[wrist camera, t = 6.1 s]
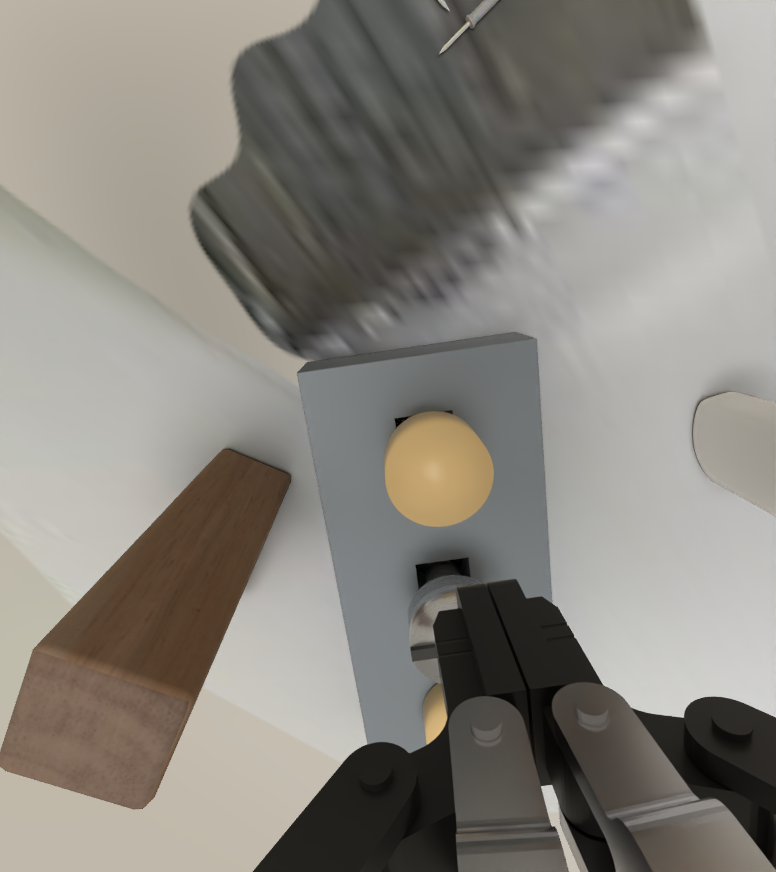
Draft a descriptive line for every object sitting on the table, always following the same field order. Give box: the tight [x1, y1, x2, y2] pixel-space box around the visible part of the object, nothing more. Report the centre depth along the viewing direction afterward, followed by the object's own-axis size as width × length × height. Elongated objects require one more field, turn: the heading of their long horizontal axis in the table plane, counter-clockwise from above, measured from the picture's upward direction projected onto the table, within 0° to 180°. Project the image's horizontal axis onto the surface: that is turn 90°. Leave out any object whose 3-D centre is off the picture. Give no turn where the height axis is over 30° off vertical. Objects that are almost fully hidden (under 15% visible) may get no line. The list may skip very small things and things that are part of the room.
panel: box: [297, 332, 552, 753], centre depth 31 cm, size 12×26×4 cm, turn 8°
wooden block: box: [0, 449, 291, 809], centre depth 23 cm, size 9×4×18 cm, turn 155°
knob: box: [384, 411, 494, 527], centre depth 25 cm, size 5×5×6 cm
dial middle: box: [407, 560, 482, 684], centre depth 27 cm, size 5×5×6 cm
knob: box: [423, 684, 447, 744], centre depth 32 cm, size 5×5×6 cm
